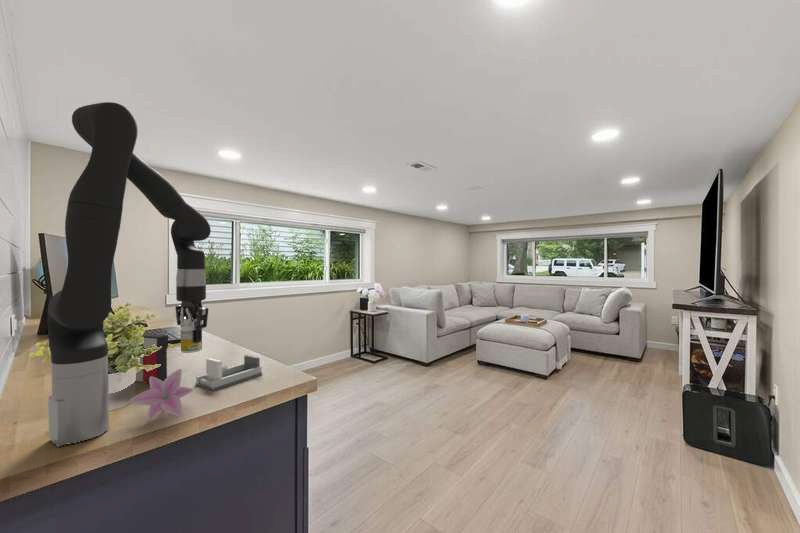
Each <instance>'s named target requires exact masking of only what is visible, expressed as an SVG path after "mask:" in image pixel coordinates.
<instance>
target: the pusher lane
mask: <svg viewBox="0 0 800 533" xmlns="http://www.w3.org/2000/svg"><path fill="white" fill-rule="evenodd" d="M243 360H244V361H243V362H244V363H240V364H237V365H236V364H235V365H233V366H229V367H227V372H226V373H222V378H220V379H217V380H213V381H209V380H207V373H204V374H200V375H198V376H195V379H196V381H195V383H194V384H195V385H196V386H198V387H201V388H204V389H207V390H210V391H213V392H214V391H218V390H220V389H221V390H222V389H223V388H226V387H229V386H232V385H235V384H238V383H242V382H244V381H247V380H250V378H251V379H253V377H254V378H256V376H257V377H259V376H258V375H260V376H262V375H263V372H262V366H260V361H261V360H260V357H257V356H253V355H249V354H245V355H244V357H243ZM261 374H262V375H261Z"/></svg>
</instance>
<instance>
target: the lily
mask: <svg viewBox="0 0 800 533" xmlns="http://www.w3.org/2000/svg"><path fill="white" fill-rule="evenodd" d="M182 373H183V372H182V369H181V368H179V369H177V370H175V371H174V372H172V373H171V374H170V375H167V378H166V379H165V380H164V381H162V380H160V379H158V378H155V377H152V376H151V377H150V378H149V383H148V384H149V389H147V390H145V391H143V392H141V393H138V394H137V395H134V396H133V397H131V398H130V400H129V402H130V403H132V404H137V405H143V406H149V408H148V412H147V421H151V420H152V419H154V418H155V417H156V416H157V415H159V414H160V413H161V412H162V411H163V410H164V411H165V412H166V413H169V414H172V415H174V416H178V417H180V416H181V415H182V411H183V410H182V403H181V402H182V401H181V398H183V397H185V396H187V395H189V394H190V393H193V391H194V389H193V388H191V387H185V386H180V385H181V381H182Z"/></svg>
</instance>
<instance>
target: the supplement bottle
mask: <svg viewBox="0 0 800 533" xmlns="http://www.w3.org/2000/svg"><path fill="white" fill-rule="evenodd" d="M196 319H197V318H196ZM195 323H196V322H195ZM184 324H185V325H184V326H183V327H182V328H181V327H180V351H181V353H182V354H191V353H192V354H193V353H197V352H200V351H202V350H203V340H202V341H201V342H198V343H193V328H192V324H191V323H190V322H189V318H187V319H184Z"/></svg>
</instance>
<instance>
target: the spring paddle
mask: <svg viewBox="0 0 800 533" xmlns="http://www.w3.org/2000/svg"><path fill="white" fill-rule="evenodd" d="M205 360H206V366H205V367H206V368H205V369H206V370H205V371H206V373H205V374H207V380H209V381H213V380H217V379H220V378H222V373H226V372H227V368H228V367H227V365H226V364H223V361H222V360H219V359H215V358H212V357H209V358H206V359H205Z"/></svg>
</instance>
